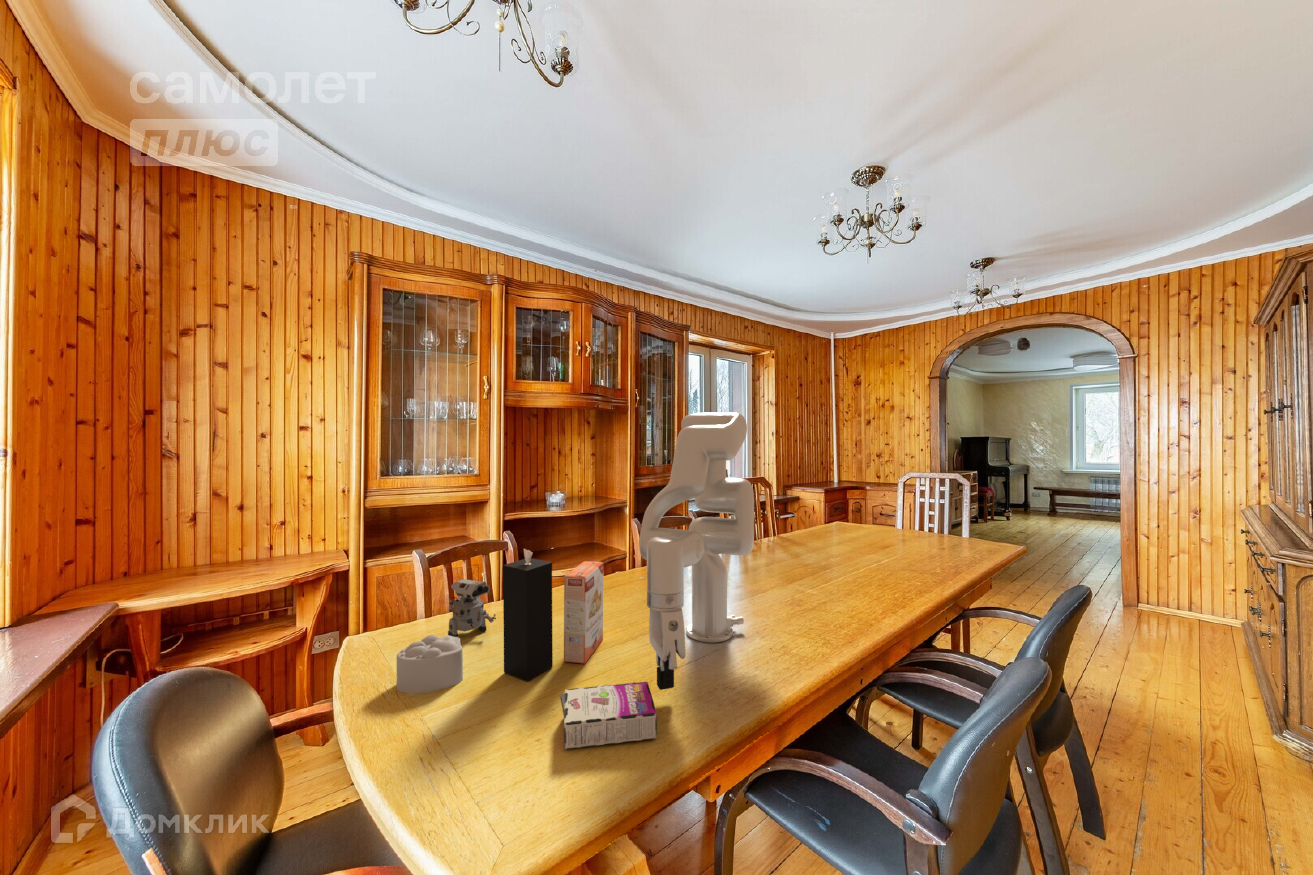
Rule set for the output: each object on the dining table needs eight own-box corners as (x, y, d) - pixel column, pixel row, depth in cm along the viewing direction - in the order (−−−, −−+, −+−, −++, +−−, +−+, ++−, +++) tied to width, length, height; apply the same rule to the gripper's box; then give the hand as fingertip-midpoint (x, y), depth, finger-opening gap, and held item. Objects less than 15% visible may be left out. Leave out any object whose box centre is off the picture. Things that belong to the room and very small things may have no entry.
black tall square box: (527, 682, 105) (526, 555, 105) (503, 673, 109) (502, 550, 109) (553, 667, 112) (552, 548, 111) (529, 659, 116) (528, 543, 116)
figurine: (462, 648, 122) (461, 589, 122) (445, 634, 130) (445, 579, 130) (496, 637, 128) (496, 581, 128) (478, 625, 137) (478, 572, 136)
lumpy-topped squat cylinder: (464, 684, 105) (463, 644, 105) (396, 700, 99) (396, 658, 98) (459, 663, 114) (458, 627, 114) (396, 677, 108) (396, 639, 108)
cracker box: (586, 665, 113) (586, 576, 113) (562, 662, 114) (562, 575, 114) (604, 639, 127) (604, 561, 126) (583, 637, 128) (582, 559, 128)
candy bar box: (648, 705, 96) (564, 712, 93) (648, 680, 96) (564, 687, 93) (657, 741, 85) (562, 750, 82) (657, 713, 85) (563, 721, 82)
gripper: (696, 608, 92) (696, 703, 92) (670, 584, 106) (670, 667, 107) (659, 612, 90) (659, 710, 90) (637, 588, 104) (637, 672, 104)
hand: (665, 686), depth 98 cm, fingers closed
